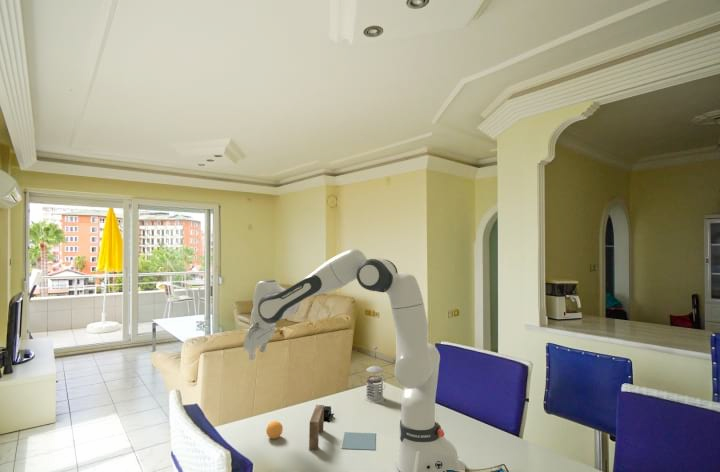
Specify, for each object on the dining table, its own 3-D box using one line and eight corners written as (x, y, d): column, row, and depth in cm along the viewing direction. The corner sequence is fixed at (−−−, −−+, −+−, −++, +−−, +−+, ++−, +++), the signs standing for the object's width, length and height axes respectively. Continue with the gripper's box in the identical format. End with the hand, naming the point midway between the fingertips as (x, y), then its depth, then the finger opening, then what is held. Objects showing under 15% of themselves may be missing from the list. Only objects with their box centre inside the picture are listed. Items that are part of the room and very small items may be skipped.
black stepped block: (330, 426, 155) (331, 414, 155) (313, 424, 156) (313, 413, 156) (337, 413, 167) (338, 402, 167) (321, 411, 168) (322, 401, 168)
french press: (375, 393, 189) (376, 342, 190) (391, 400, 180) (392, 347, 181) (360, 397, 183) (360, 345, 184) (375, 405, 174) (376, 350, 175)
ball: (284, 434, 146) (284, 418, 146) (280, 442, 140) (280, 425, 140) (268, 433, 146) (269, 417, 146) (264, 441, 140) (264, 425, 140)
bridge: (323, 430, 150) (323, 405, 150) (317, 450, 135) (317, 422, 135) (315, 429, 150) (316, 404, 150) (309, 449, 135) (309, 422, 135)
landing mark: (375, 433, 147) (375, 433, 147) (375, 450, 135) (375, 449, 135) (344, 432, 148) (344, 432, 148) (341, 448, 136) (341, 448, 136)
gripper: (258, 328, 138) (253, 366, 138) (279, 316, 158) (274, 349, 158) (241, 325, 139) (237, 362, 139) (265, 313, 159) (260, 346, 159)
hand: (257, 355), depth 149 cm, fingers open, 8 cm apart
